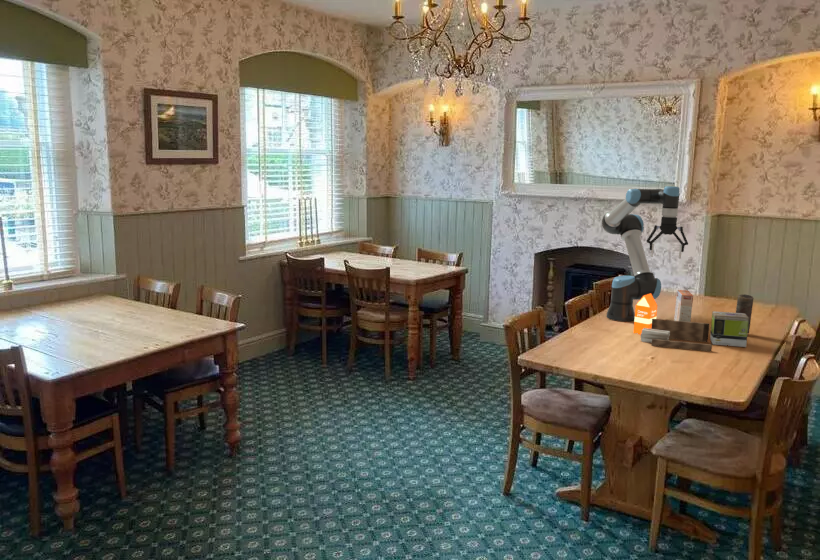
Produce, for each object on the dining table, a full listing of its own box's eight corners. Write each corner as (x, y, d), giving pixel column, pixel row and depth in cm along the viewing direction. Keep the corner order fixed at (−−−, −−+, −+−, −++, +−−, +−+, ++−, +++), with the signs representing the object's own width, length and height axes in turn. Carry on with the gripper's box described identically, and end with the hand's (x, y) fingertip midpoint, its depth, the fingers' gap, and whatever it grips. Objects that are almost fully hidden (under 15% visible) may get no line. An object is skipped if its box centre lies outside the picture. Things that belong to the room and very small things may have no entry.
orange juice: (655, 332, 341) (658, 294, 338) (647, 336, 335) (651, 296, 331) (640, 330, 346) (643, 292, 343) (632, 333, 340) (636, 294, 337)
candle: (749, 333, 344) (753, 295, 340) (749, 336, 337) (754, 297, 334) (732, 331, 347) (736, 293, 344) (732, 334, 341) (737, 296, 337)
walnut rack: (651, 345, 317) (653, 327, 315) (650, 336, 334) (652, 318, 333) (711, 351, 309) (713, 332, 308) (707, 341, 327) (709, 323, 325)
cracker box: (689, 336, 336) (693, 295, 332) (677, 335, 338) (680, 294, 334) (685, 329, 350) (689, 290, 346) (672, 328, 351) (676, 289, 347)
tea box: (742, 342, 326) (746, 312, 324) (746, 348, 317) (749, 317, 314) (709, 339, 331) (712, 310, 328) (711, 344, 321) (714, 314, 319)
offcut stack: (667, 345, 318) (668, 333, 317) (639, 341, 324) (640, 329, 323) (669, 343, 323) (670, 330, 322) (642, 339, 329) (643, 327, 328)
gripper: (643, 215, 346) (640, 256, 350) (696, 218, 338) (692, 259, 342) (643, 214, 353) (640, 254, 357) (694, 217, 345) (691, 257, 349)
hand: (665, 257), depth 349 cm, fingers open, 13 cm apart
